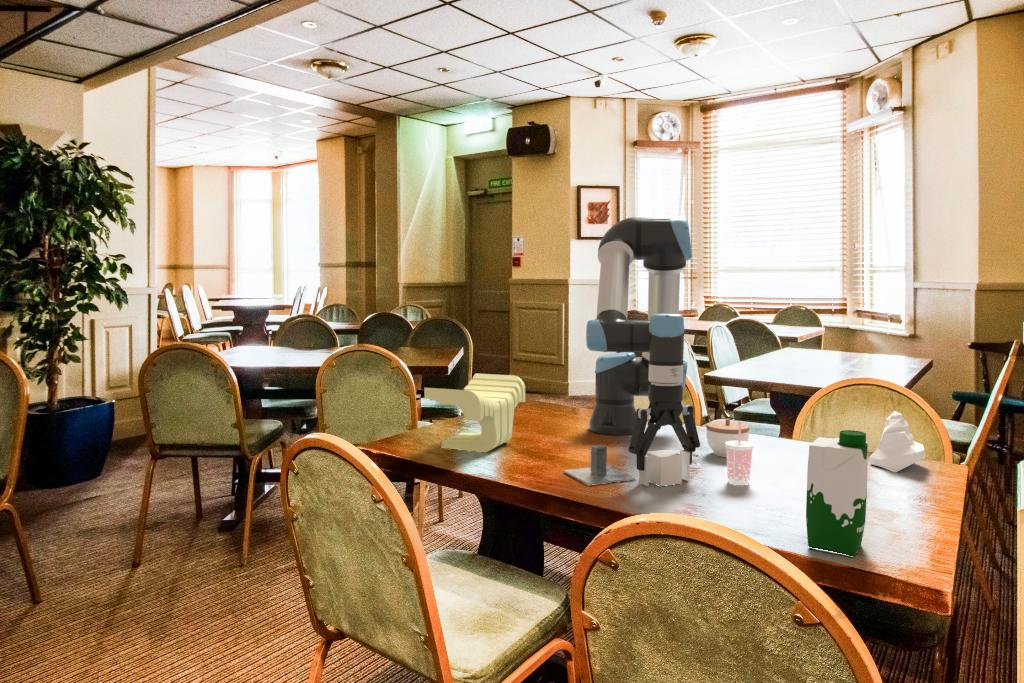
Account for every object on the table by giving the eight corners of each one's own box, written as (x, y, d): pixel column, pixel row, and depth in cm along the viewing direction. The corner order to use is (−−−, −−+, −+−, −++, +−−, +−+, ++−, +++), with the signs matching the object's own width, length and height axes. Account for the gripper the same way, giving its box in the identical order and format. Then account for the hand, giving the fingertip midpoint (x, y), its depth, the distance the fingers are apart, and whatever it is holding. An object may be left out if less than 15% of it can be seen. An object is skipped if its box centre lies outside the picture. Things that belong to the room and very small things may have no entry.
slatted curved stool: (480, 461, 180) (480, 391, 178) (425, 455, 186) (424, 387, 184) (525, 437, 207) (525, 376, 206) (475, 432, 213) (475, 373, 212)
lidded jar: (755, 454, 186) (756, 418, 186) (737, 462, 179) (738, 424, 178) (717, 447, 194) (718, 413, 193) (698, 454, 186) (698, 419, 185)
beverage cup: (757, 482, 160) (759, 421, 159) (745, 488, 156) (747, 425, 155) (731, 477, 164) (732, 417, 163) (719, 483, 160) (720, 421, 159)
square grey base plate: (607, 467, 174) (608, 439, 173) (635, 480, 162) (635, 449, 162) (563, 472, 169) (563, 443, 168) (588, 486, 158) (588, 455, 157)
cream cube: (666, 477, 164) (667, 449, 164) (681, 484, 159) (682, 455, 159) (646, 480, 162) (646, 451, 162) (660, 487, 157) (661, 457, 157)
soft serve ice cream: (864, 475, 172) (851, 416, 174) (882, 468, 183) (870, 413, 185) (921, 471, 164) (907, 409, 166) (937, 464, 175) (924, 406, 177)
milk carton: (859, 561, 116) (864, 439, 114) (800, 549, 121) (804, 432, 119) (867, 544, 123) (872, 429, 121) (811, 534, 128) (815, 423, 126)
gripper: (631, 388, 151) (630, 492, 153) (718, 382, 160) (716, 480, 162) (612, 384, 158) (611, 483, 160) (697, 378, 167) (695, 472, 168)
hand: (664, 481), depth 161 cm, fingers open, 10 cm apart
